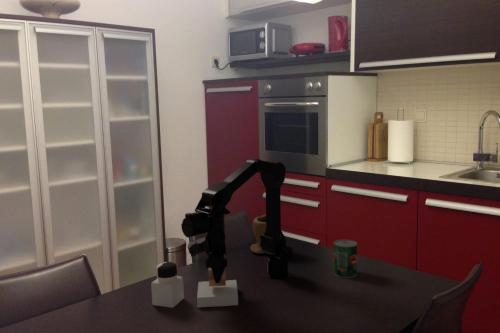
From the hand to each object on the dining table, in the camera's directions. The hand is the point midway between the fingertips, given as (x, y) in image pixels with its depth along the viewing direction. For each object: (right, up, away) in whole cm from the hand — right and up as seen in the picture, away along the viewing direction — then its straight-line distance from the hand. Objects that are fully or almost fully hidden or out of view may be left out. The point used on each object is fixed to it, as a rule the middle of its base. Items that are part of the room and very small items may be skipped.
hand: (217, 279), depth 140 cm
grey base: (0, -6, +1) cm, 6 cm away
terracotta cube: (0, -1, 0) cm, 1 cm away
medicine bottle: (-15, -7, -1) cm, 16 cm away
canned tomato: (+43, -3, +18) cm, 46 cm away
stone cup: (+18, 0, +43) cm, 46 cm away
